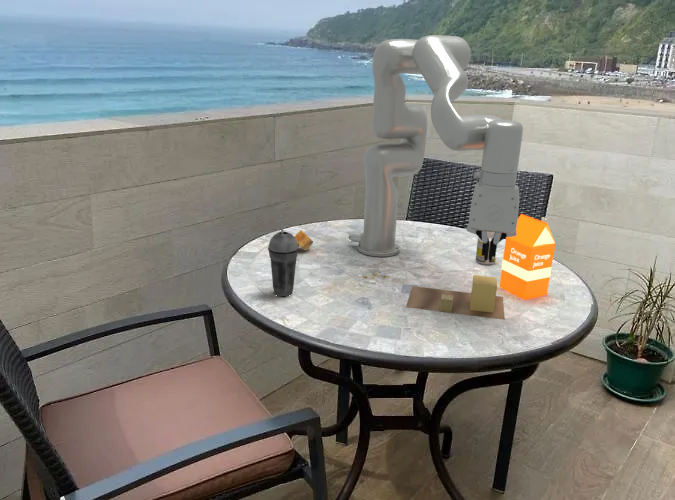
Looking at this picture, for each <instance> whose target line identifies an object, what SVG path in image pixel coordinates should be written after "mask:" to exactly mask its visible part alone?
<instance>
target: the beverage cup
mask: <svg viewBox="0 0 675 500" xmlns="http://www.w3.org/2000/svg"><path fill="white" fill-rule="evenodd" d="M294 236H295V235H293V234H292V233H290V232H288V231H284V219H283V215H282V214H280V231H278V232H276V233H275V234H273V236H272V237H270V239H269V242H268V248H267V251H268V255H269V258H270V267H271V279H272V289H273V294H275V295H277V296H276V297H278V296H289V295H291V294H292V295H293V291H294V284H295V275H296V266H297V265H296V264H297V258H298V255H299V250H300V249H299V247H298V243H297V240H296V238H295V237H294ZM275 295H274V296H275ZM292 295H291V296H292ZM289 297H290V296H289Z"/></svg>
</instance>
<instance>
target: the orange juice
mask: <svg viewBox="0 0 675 500" xmlns="http://www.w3.org/2000/svg"><path fill="white" fill-rule="evenodd" d="M516 233H517V235H516V236H514V237H506V238H505V242H504V243H505V244H504V251H503V259H502V263H501V272H500V280H499V288H501V289H503V290H505V291H506V292H508V293H510V294H512V295H514V296H516V297H518V298H520V299H521V300H524V301H525V300H529V299H534V298H539V297H543V296H547V295H548V291H549V285H550V284H549V283H550V278H551V273H552V267H553V261H554V255H555V248H556V242H555V239H554V237H553V234H552V231H551V229H550V226H549V223H548V222H547V223H545V222H543V221H541V220H539V219H537V218H534V217H531V216H529V215H526V214H523V213H520V215H519V216H518V221H517V227H516Z"/></svg>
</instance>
